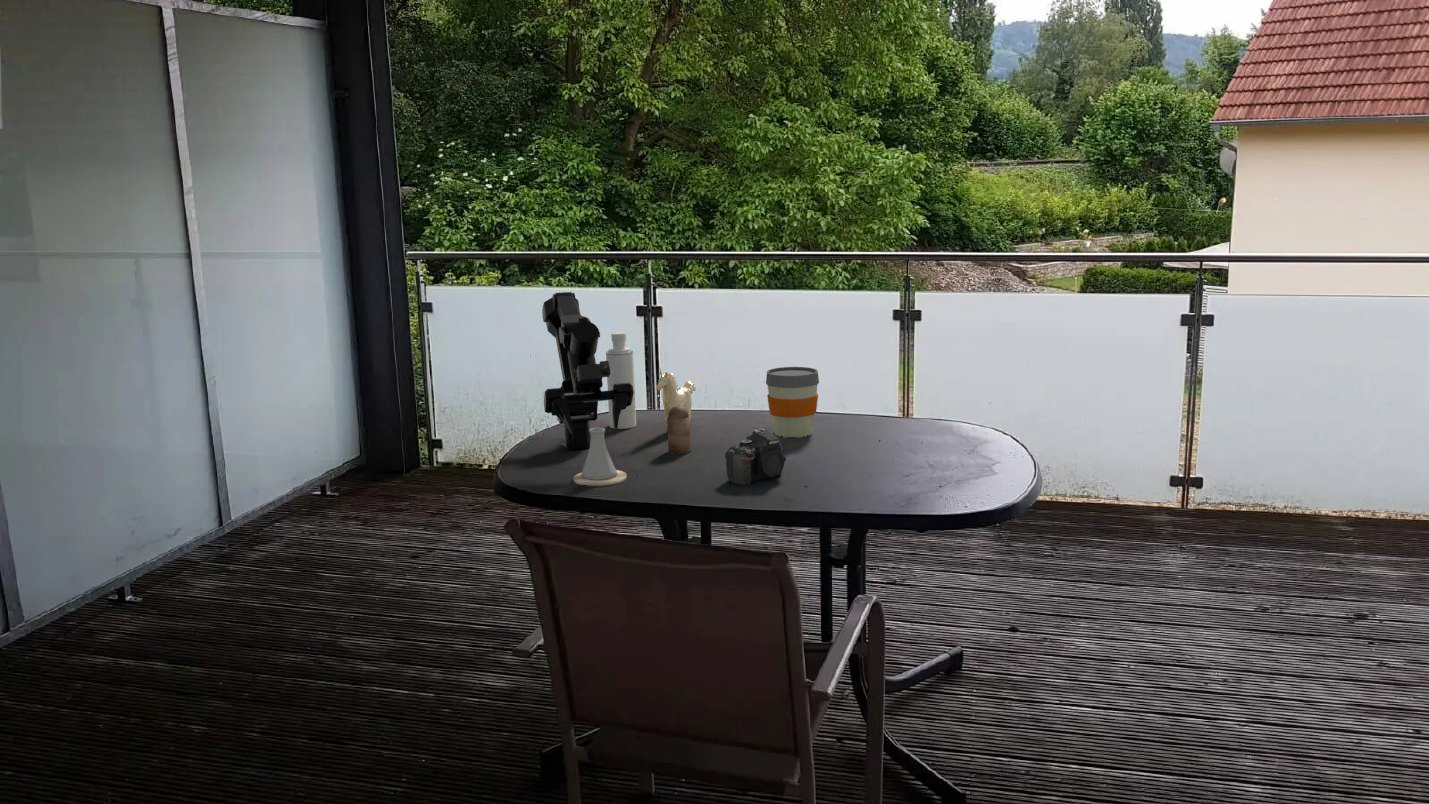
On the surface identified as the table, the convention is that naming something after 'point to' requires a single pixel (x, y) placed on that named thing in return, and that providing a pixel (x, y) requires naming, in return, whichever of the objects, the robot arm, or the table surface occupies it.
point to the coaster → (601, 480)
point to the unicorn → (675, 393)
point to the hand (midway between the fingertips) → (594, 431)
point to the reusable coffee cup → (792, 400)
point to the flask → (598, 458)
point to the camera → (755, 458)
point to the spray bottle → (621, 378)
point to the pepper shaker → (678, 430)
